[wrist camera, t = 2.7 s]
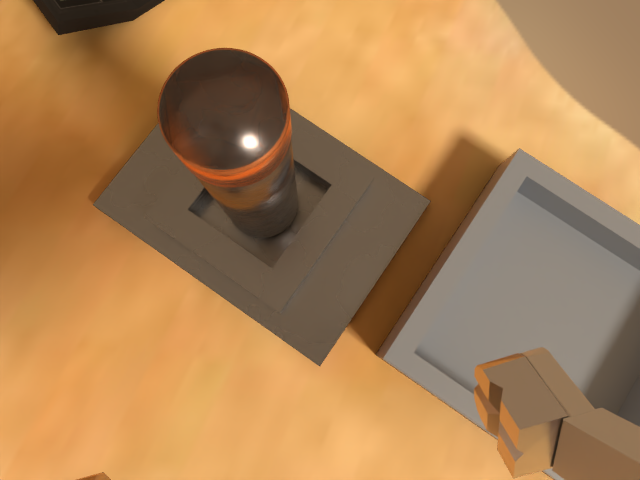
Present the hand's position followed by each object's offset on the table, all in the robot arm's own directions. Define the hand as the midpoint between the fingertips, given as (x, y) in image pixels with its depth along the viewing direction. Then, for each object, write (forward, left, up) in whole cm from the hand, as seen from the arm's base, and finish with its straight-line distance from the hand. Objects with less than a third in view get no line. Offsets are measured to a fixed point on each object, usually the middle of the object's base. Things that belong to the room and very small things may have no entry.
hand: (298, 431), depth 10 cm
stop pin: (-7, +5, -13) cm, 15 cm away
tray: (+8, +9, -13) cm, 18 cm away
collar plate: (-7, +5, -13) cm, 16 cm away
